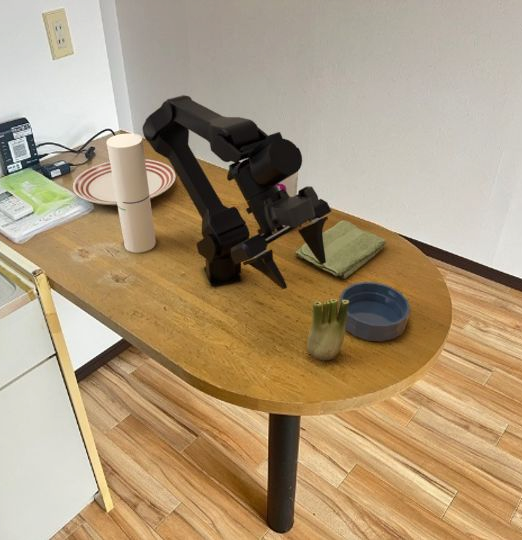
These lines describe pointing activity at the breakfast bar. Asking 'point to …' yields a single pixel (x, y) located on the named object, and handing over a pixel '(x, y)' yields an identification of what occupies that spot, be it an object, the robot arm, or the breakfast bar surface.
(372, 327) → the bowl
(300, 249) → the washcloth
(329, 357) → the fennel bulb
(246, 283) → the breakfast bar surface
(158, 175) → the dinner plate
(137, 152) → the cylindrical container
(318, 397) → the breakfast bar surface
